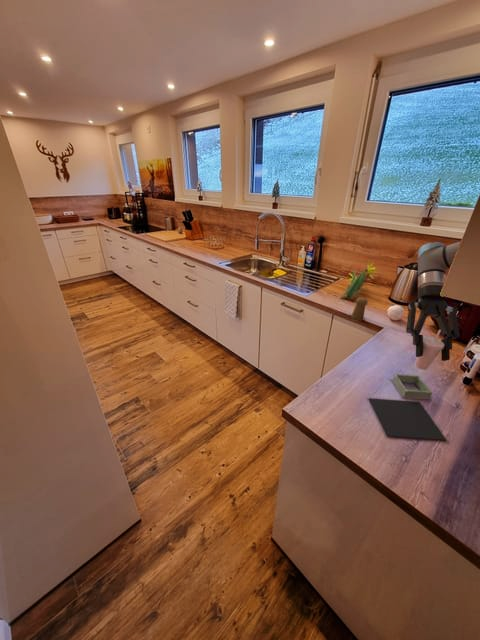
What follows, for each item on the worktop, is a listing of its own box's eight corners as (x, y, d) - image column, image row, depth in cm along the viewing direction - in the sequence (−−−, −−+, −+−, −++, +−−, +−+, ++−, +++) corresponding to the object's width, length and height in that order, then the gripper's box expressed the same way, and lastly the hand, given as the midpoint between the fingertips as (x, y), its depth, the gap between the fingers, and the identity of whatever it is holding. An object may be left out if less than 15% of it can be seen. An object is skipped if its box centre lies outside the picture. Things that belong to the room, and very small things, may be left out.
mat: (418, 402, 85) (419, 401, 85) (445, 440, 73) (446, 439, 73) (368, 399, 86) (369, 398, 86) (387, 436, 74) (387, 435, 73)
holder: (415, 382, 94) (418, 375, 92) (429, 399, 87) (432, 392, 85) (391, 380, 94) (394, 373, 93) (403, 397, 87) (406, 391, 85)
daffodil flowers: (328, 296, 162) (350, 269, 181) (347, 311, 161) (366, 282, 180) (346, 280, 148) (367, 252, 167) (366, 297, 147) (385, 267, 165)
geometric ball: (396, 325, 136) (409, 318, 129) (383, 318, 136) (395, 312, 129) (396, 313, 140) (408, 306, 133) (383, 307, 139) (395, 299, 132)
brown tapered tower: (348, 317, 136) (354, 298, 131) (354, 314, 140) (359, 295, 134) (360, 321, 132) (365, 302, 127) (365, 318, 136) (371, 298, 130)
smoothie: (426, 375, 81) (444, 337, 75) (405, 363, 86) (421, 327, 79) (436, 368, 84) (454, 331, 78) (416, 358, 89) (431, 322, 82)
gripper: (457, 296, 87) (460, 365, 81) (394, 289, 91) (392, 355, 85) (473, 287, 80) (477, 361, 74) (404, 280, 84) (402, 350, 78)
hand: (432, 358), depth 79 cm, fingers closed on smoothie, 6 cm apart
